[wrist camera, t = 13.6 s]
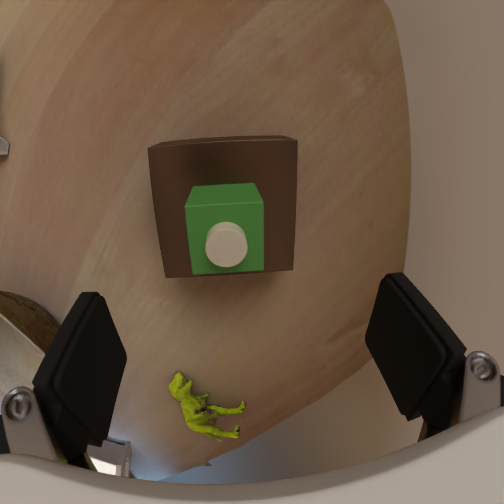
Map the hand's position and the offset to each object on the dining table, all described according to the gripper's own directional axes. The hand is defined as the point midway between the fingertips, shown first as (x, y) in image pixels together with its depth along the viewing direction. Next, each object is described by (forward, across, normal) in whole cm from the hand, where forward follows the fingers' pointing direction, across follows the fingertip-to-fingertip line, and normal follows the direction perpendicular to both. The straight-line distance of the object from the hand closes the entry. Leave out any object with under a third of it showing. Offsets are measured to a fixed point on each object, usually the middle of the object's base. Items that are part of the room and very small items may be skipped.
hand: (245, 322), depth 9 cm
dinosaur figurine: (+18, +7, +35) cm, 40 cm away
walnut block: (+19, +1, +1) cm, 19 cm away
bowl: (+18, +31, +17) cm, 40 cm away
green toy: (+14, +1, +1) cm, 14 cm away
